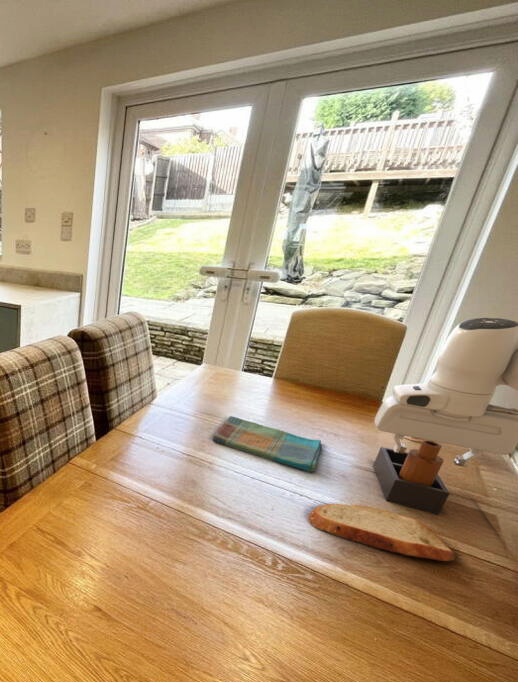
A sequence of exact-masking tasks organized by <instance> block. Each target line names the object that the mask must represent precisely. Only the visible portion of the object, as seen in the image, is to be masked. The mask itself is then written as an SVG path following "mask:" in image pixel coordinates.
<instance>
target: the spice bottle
mask: <svg viewBox="0 0 518 682" xmlns="http://www.w3.org/2000/svg"><path fill="white" fill-rule="evenodd" d="M420 443H421V444H420V446H419V447H418V449H415V448H413V449H410V450H409V451H408V452H407V453H408V455H407V457H406V460H405V462H404V464H403V466H402V468H401V471H400V473H399V475H398V477H399V479H401V480H405V481H409V482H413V483H417V484H421V485H425V486H429V487H431V486H432V484H433V482H434V480H435V478H436V476H437V474H438V475H439V472H440V470H441V467H442V466H443V464H444V462H445V460H444V458H442V457H441V456H439V454H440V451H441V449H442V448H443V447H442V446H443V445H441V444H440V443H439V442H435V441H430V440H424V441H422V442H420Z"/></svg>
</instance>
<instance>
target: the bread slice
mask: <svg viewBox="0 0 518 682" xmlns="http://www.w3.org/2000/svg"><path fill="white" fill-rule="evenodd" d="M307 519H308V522H309V523H310V524H311V526H313V527H314V528H317V529H318V530H321V531H325V532H327V533H329V534H331V535H334V536H337V537H339V538H343V539H346V540H349V541H351V542H356V543H360V544H363V545H368V546H370V547H373V548H376V549H379V550H386V551H388V552H389V553H397V554H400V555H402V556H408V557H414V558H417V559H428V560H433V561H440V562H450V561H453V560H454V559H455V552H454V551H453V550H452V548H450V547H449V546H448V545H447V544H446V542H444V541H443V540H442V538H441V537H439V536H438V535H437V533H436V532H434V530H432V529H431V528H430V527H428V526H427V525H426V524H424V523H423V522H421V521H419V520H418V519H415V518H412V517H409V516H405V515H402V514H399V513H396V512H392V511H390V510H387V509H382V508H378V507H371V506H367V505H362V504H341V503H327V504H320V505H318V506H315V508H314V509H312V511H311V512H310V513H309V514H308V518H307Z"/></svg>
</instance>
